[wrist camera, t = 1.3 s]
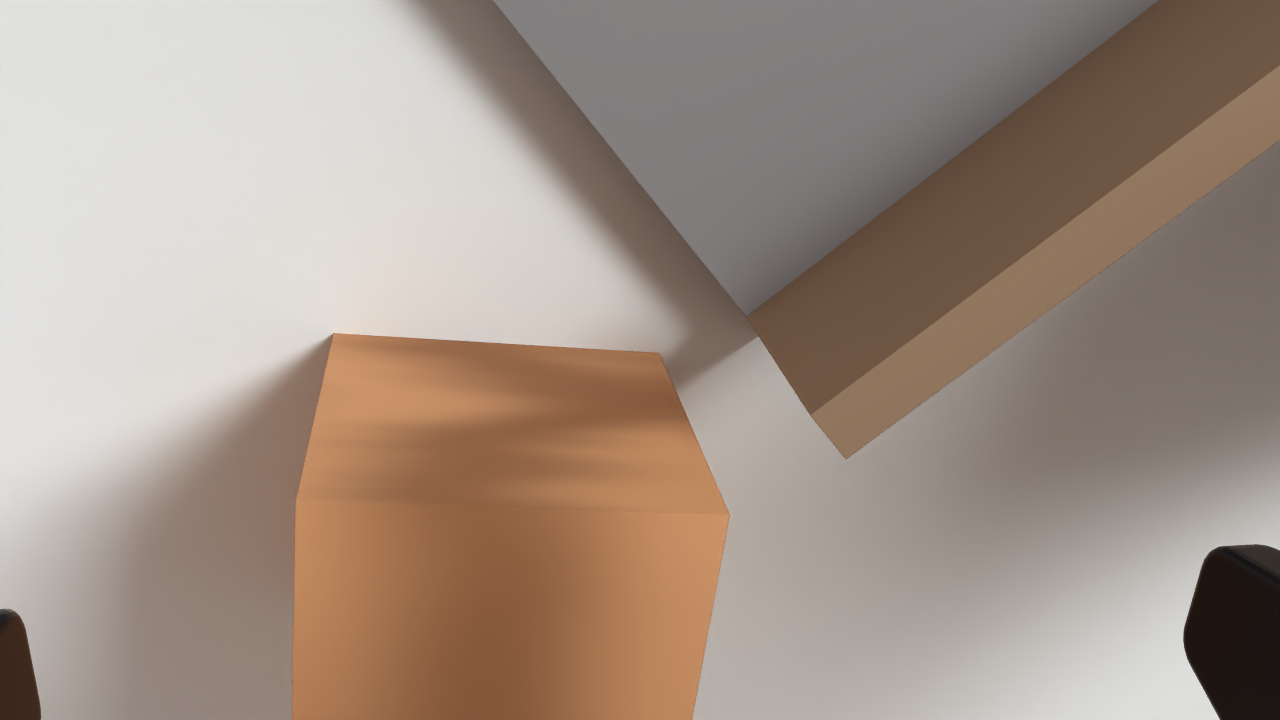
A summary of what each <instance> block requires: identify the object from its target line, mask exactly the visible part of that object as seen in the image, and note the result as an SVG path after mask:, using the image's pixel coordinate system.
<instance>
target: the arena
mask: <svg viewBox="0 0 1280 720" xmlns="http://www.w3.org/2000/svg"><path fill="white" fill-rule="evenodd" d="M493 1H494V3H495V4H496V5H497V6H498V8H499V9H500V10H501V11H502V13H503V14H504V15H505V16H506V18H507V19H508V20H509V21H510V23H511V24H512V25H513V26H514V28H515V29H516V30H517V31H518V33H519V34H520V35H521V36H522V38H523V39H524V40H525V41H526V43H527V44H528V45H529V46H530V48H531V49H532V50H533V51H534V53H535V54H536V55H537V56H538V58H539V59H540V60H541V61H542V63H543V64H544V65H545V66H546V68H547V69H548V70H549V71H550V73H551V74H552V75H553V76H554V78H555V79H556V80H557V81H558V83H559V84H560V85H561V86H562V88H563V89H564V90H565V91H566V93H567V94H568V95H569V96H570V98H571V99H572V100H573V101H574V103H575V104H576V105H577V106H578V108H579V109H580V110H581V111H582V113H583V114H584V115H585V116H586V118H587V119H588V120H589V121H590V123H591V124H592V125H593V126H594V127H595V129H596V130H597V131H598V132H599V134H600V135H601V136H602V137H603V139H604V140H605V141H606V142H607V144H608V145H609V146H610V147H611V149H612V150H613V151H614V152H615V154H616V155H617V156H618V157H619V159H620V160H621V161H622V162H623V164H624V165H625V166H626V167H627V169H628V170H629V171H630V172H631V174H632V175H633V176H634V177H635V179H636V180H637V181H638V182H639V184H640V185H641V186H642V187H643V189H644V190H645V191H646V192H647V194H648V195H649V196H650V197H651V199H652V200H653V201H654V202H655V204H656V205H657V206H658V207H659V209H660V210H661V211H662V212H663V214H664V215H665V216H666V217H667V219H668V220H669V221H670V222H671V224H672V225H673V226H674V227H675V229H676V230H677V231H678V232H679V234H680V235H681V236H682V237H683V239H684V240H685V241H686V242H687V244H688V245H689V246H690V247H691V249H692V250H693V251H694V252H695V254H696V255H697V256H698V257H699V259H700V260H701V261H702V262H703V264H704V265H705V266H706V267H707V269H708V270H709V271H710V272H711V274H712V275H713V276H714V277H715V279H716V280H717V281H718V282H719V284H720V285H721V286H722V287H723V289H724V290H725V291H726V292H727V294H728V295H729V296H730V297H731V299H732V300H733V301H734V302H735V304H736V305H737V306H738V307H739V309H740V310H741V311H742V312H743V314H744V315H745V316H746V317H747V319H748V320H749V322H750V324H751V325H752V327H753V328H754V330H755V331H756V333H757V334H758V336H759V337H760V339H761V340H762V342H763V344H764V345H765V347H766V348H767V350H768V351H769V353H770V354H771V356H772V357H773V359H774V360H775V362H776V364H777V365H778V367H779V368H780V370H781V371H782V373H783V374H784V376H785V377H786V379H787V380H788V382H789V384H790V385H791V387H792V388H793V390H794V391H795V393H796V394H797V396H798V397H799V399H800V400H801V402H802V404H803V405H804V407H805V408H806V410H807V411H808V413H809V414H810V416H811V417H812V418H813V419H814V421H815V422H816V423H817V424H818V426H819V427H820V428H821V429H822V431H823V432H824V433H825V434H826V436H827V437H828V438H829V439H830V440H831V442H832V443H833V444H834V445H835V447H836V448H837V449H838V450H839V452H840V453H841V454H842V455H843V457H844V458H845V459H847V458H848V457H850V456H851V455H852V454H854V453H855V452H857V451H858V450H859V449H861V448H862V447H863V446H865V445H866V444H867V443H869V442H870V441H872V440H873V439H874V438H876V437H877V436H878V435H880V434H881V433H882V432H884V431H885V430H886V429H888V428H889V427H891V426H892V425H893V424H895V423H896V422H897V421H899V420H900V419H901V418H903V417H904V416H906V415H907V414H908V413H910V412H911V411H912V410H914V409H915V408H916V407H918V406H919V405H920V404H922V403H923V402H925V401H926V400H927V399H929V398H930V397H931V396H933V395H934V394H935V393H937V392H938V391H940V390H941V389H942V388H944V387H945V386H946V385H948V384H949V383H950V382H952V381H953V380H954V379H956V378H957V377H959V376H960V375H961V374H963V373H964V372H965V371H967V370H968V369H969V368H971V367H972V366H974V365H975V364H976V363H978V362H979V361H980V360H982V359H983V358H984V357H986V356H987V355H988V354H990V353H991V352H993V351H994V350H995V349H997V348H998V347H999V346H1001V345H1002V344H1003V343H1005V342H1006V341H1008V340H1009V339H1010V338H1012V337H1013V336H1014V335H1016V334H1017V333H1018V332H1020V331H1021V330H1022V329H1024V328H1025V327H1027V326H1028V325H1029V324H1031V323H1032V322H1033V321H1035V320H1036V319H1037V318H1039V317H1040V316H1042V315H1043V314H1044V313H1046V312H1047V311H1048V310H1050V309H1051V308H1052V307H1054V306H1055V305H1056V304H1058V303H1059V302H1061V301H1062V300H1063V299H1065V298H1066V297H1067V296H1069V295H1070V294H1071V293H1073V292H1074V291H1076V290H1077V289H1078V288H1080V287H1081V286H1082V285H1084V284H1085V283H1086V282H1088V281H1089V280H1091V279H1092V278H1093V277H1095V276H1096V275H1097V274H1099V273H1100V272H1101V271H1103V270H1104V269H1105V268H1107V267H1108V266H1110V265H1111V264H1112V263H1114V262H1115V261H1116V260H1118V259H1119V258H1120V257H1122V256H1123V255H1125V254H1126V253H1127V252H1129V251H1130V250H1131V249H1133V248H1134V247H1135V246H1137V245H1138V244H1139V243H1141V242H1142V241H1144V240H1145V239H1146V238H1148V237H1149V236H1150V235H1152V234H1153V233H1154V232H1156V231H1157V230H1159V229H1160V228H1161V227H1163V226H1164V225H1165V224H1167V223H1168V222H1169V221H1171V220H1172V219H1173V218H1175V217H1176V216H1178V215H1179V214H1180V213H1182V212H1183V211H1184V210H1186V209H1187V208H1188V207H1190V206H1191V205H1193V204H1194V203H1195V202H1197V201H1198V200H1199V199H1201V198H1202V197H1203V196H1205V195H1206V194H1207V193H1209V192H1210V191H1212V190H1213V189H1214V188H1216V187H1217V186H1218V185H1220V184H1221V183H1222V182H1224V181H1225V180H1227V179H1228V178H1229V177H1231V176H1232V175H1233V174H1235V173H1236V172H1237V171H1239V170H1240V169H1241V168H1243V167H1244V166H1246V165H1247V164H1248V163H1250V162H1251V161H1252V160H1254V159H1255V158H1256V157H1258V156H1259V155H1261V154H1262V153H1263V152H1265V151H1266V150H1267V149H1269V148H1270V147H1271V146H1273V145H1274V144H1275V143H1277V142H1278V141H1280V0H493Z"/></svg>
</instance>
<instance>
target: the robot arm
mask: <svg viewBox="0 0 1280 720" xmlns="http://www.w3.org/2000/svg"><path fill="white" fill-rule="evenodd" d="M1183 641H1184V649H1185V652H1186V656H1187V659H1188V661H1189V663H1190V665H1191V667H1192V669H1193V671H1194V673H1195V674H1196V676H1197V678H1198V680H1199V682H1200V684H1201V686H1202V687H1203V689H1204V691H1205V693H1206V695H1207V697H1208V698H1209V700H1210V702H1211V704H1212V706H1213V708H1214V709H1215V711H1216V713H1217V715H1218V717H1219V719H1220V720H1280V550H1277V549H1275V548H1272V547H1269V546H1266V545H1258V544H1254V545H1236V546H1221V547H1218V548H1216V549H1214V550H1212V551H1211V552H1210V553H1209V554H1208V555H1207V556H1206V558H1205V559H1204V562H1203V564H1202V567H1201V571H1200V574H1199V578H1198V581H1197V585H1196V588H1195V592H1194V595H1193V599H1192V602H1191V606H1190V609H1189V613H1188V616H1187V620H1186V623H1185V627H1184V635H1183ZM0 720H41V708H40V701H39V696H38V691H37V685H36V680H35V675H34V670H33V665H32V660H31V655H30V650H29V644H28V639H27V634H26V630H25V626H24V623H23V621H22V619H21V618H20V616H19V615H18V614H17V613H16V612H14V611H13V610H11V609H0Z"/></svg>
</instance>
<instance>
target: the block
mask: <svg viewBox="0 0 1280 720" xmlns="http://www.w3.org/2000/svg"><path fill="white" fill-rule="evenodd" d="M729 516H730V514H729V512H728V510H727V508H726V505H725V503H724V501H723V498H722V496H721V494H720V491H719V489H718V487H717V485H716V482H715V480H714V478H713V475H712V473H711V471H710V468H709V466H708V464H707V462H706V459H705V457H704V455H703V452H702V450H701V448H700V446H699V443H698V441H697V439H696V436H695V434H694V432H693V429H692V427H691V425H690V423H689V420H688V418H687V416H686V413H685V411H684V409H683V407H682V404H681V402H680V400H679V397H678V395H677V393H676V390H675V388H674V386H673V384H672V381H671V379H670V377H669V374H668V372H667V370H666V367H665V365H664V363H663V361H662V358H661V356H660V354H659V353H649V352H633V351H617V350H600V349H584V348H567V347H551V346H534V345H518V344H502V343H485V342H469V341H452V340H436V339H419V338H403V337H387V336H370V335H354V334H337V333H333V338H332V342H331V347H330V351H329V356H328V360H327V364H326V369H325V373H324V378H323V382H322V387H321V391H320V395H319V400H318V404H317V409H316V413H315V417H314V422H313V426H312V431H311V435H310V440H309V444H308V448H307V453H306V457H305V462H304V466H303V471H302V475H301V479H300V484H299V488H298V493H297V497H296V511H295V568H294V625H293V682H292V720H692V717H693V712H694V706H695V701H696V695H697V690H698V685H699V679H700V674H701V668H702V663H703V657H704V652H705V646H706V641H707V636H708V630H709V625H710V619H711V614H712V608H713V603H714V598H715V592H716V587H717V581H718V576H719V570H720V565H721V560H722V554H723V549H724V543H725V538H726V532H727V527H728V521H729Z"/></svg>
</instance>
